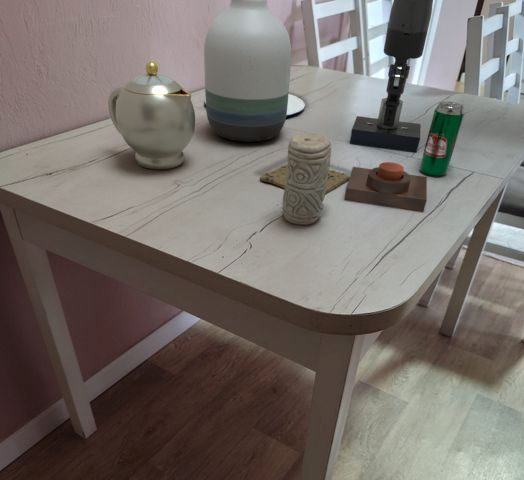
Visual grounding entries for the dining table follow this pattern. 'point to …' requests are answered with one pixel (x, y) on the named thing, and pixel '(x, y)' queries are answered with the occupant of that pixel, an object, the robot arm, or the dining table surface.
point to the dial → (382, 113)
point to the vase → (247, 72)
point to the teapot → (153, 118)
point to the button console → (387, 190)
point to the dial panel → (385, 135)
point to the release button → (390, 171)
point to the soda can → (442, 138)
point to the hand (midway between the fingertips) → (388, 121)
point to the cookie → (280, 174)
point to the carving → (306, 178)
